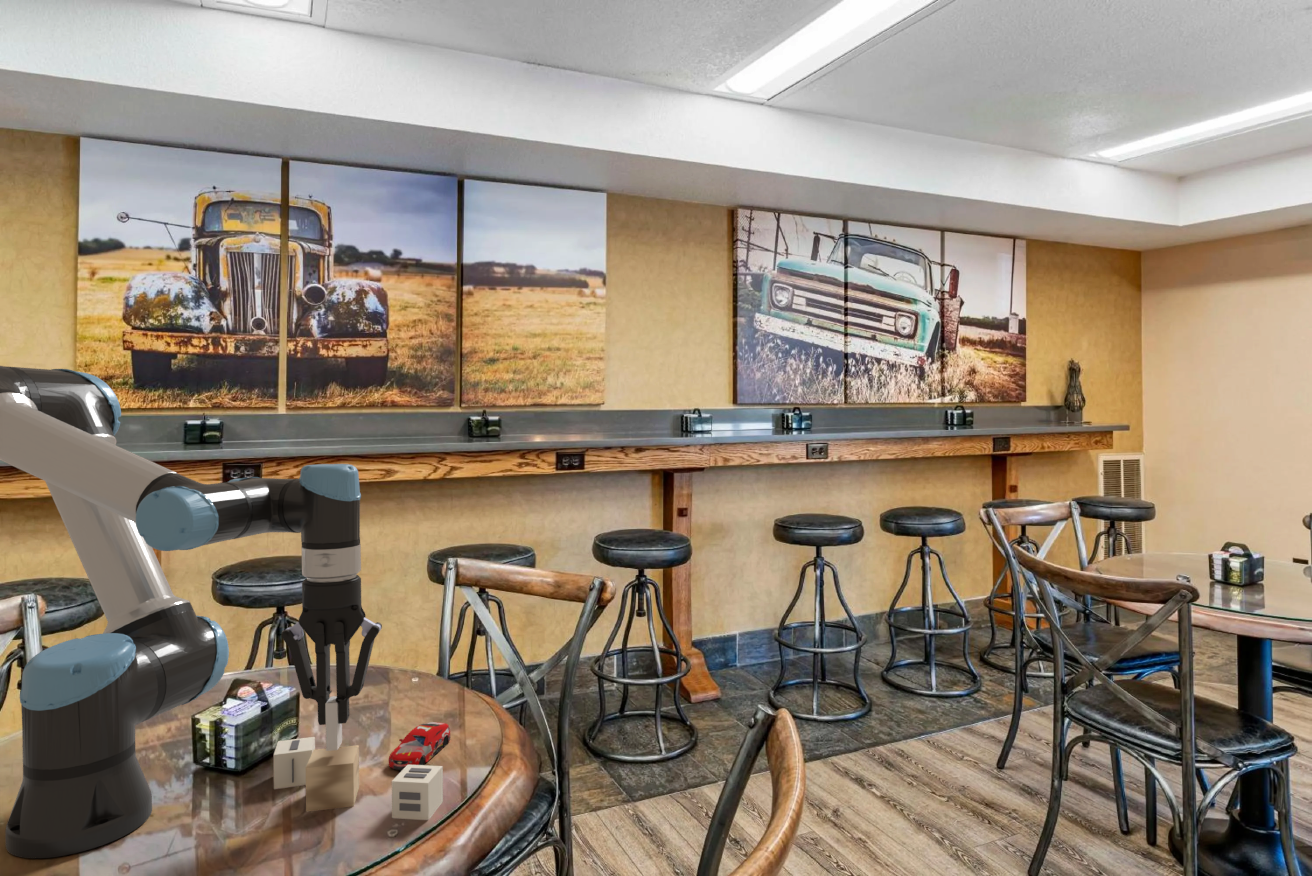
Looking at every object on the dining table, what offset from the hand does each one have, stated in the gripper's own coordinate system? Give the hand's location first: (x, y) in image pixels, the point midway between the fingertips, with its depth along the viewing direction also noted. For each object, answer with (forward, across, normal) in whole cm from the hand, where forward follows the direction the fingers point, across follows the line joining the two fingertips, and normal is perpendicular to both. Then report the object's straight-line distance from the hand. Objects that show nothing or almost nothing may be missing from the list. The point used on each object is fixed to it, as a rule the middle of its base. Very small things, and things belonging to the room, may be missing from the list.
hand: (334, 746), depth 108 cm
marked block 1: (+7, -7, +7) cm, 12 cm away
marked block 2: (+8, +12, -5) cm, 15 cm away
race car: (+8, +10, +13) cm, 18 cm away
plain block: (+7, 0, 0) cm, 7 cm away
